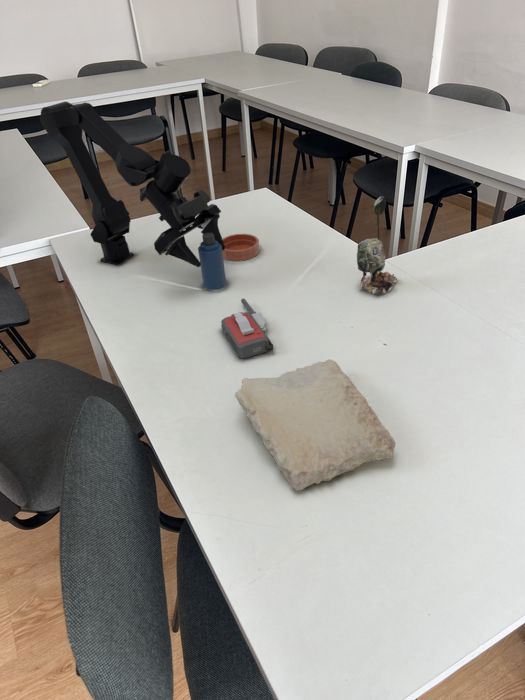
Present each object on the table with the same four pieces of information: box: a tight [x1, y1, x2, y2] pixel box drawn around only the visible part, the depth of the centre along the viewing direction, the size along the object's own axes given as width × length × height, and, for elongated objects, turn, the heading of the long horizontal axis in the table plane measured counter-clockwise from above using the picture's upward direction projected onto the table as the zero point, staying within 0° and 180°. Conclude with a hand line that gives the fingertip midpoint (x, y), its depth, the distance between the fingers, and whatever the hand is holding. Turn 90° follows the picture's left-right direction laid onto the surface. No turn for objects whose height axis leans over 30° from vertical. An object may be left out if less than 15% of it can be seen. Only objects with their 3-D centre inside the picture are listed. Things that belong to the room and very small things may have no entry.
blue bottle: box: [197, 233, 227, 292], centre depth 121 cm, size 5×5×13 cm
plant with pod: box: [356, 195, 399, 295], centre depth 114 cm, size 8×11×20 cm
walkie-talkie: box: [220, 298, 274, 359], centre depth 108 cm, size 9×4×20 cm
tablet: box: [234, 359, 396, 491], centre depth 84 cm, size 24×8×20 cm
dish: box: [222, 233, 261, 262], centre depth 137 cm, size 10×10×3 cm
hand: (212, 257), depth 121 cm, fingers open, 9 cm apart
